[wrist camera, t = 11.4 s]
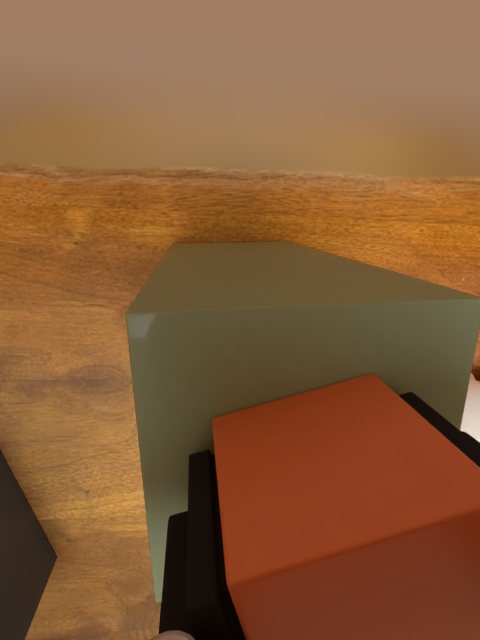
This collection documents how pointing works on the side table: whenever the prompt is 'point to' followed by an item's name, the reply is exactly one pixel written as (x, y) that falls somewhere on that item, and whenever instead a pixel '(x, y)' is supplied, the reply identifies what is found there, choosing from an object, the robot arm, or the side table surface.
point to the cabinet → (20, 559)
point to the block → (347, 519)
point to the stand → (276, 347)
